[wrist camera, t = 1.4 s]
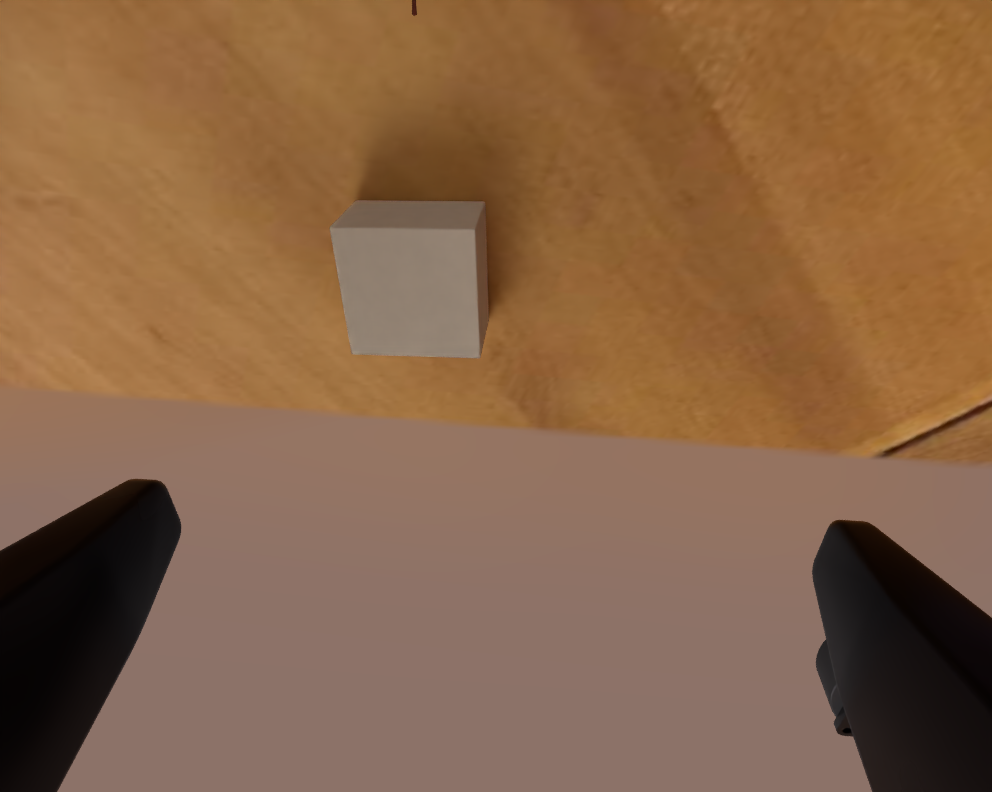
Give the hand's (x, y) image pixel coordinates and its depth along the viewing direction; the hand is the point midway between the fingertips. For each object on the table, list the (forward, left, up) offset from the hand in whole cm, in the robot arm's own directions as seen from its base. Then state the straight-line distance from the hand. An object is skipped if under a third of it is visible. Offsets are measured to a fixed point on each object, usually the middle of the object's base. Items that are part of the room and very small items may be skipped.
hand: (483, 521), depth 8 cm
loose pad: (-1, +3, -12) cm, 13 cm away
